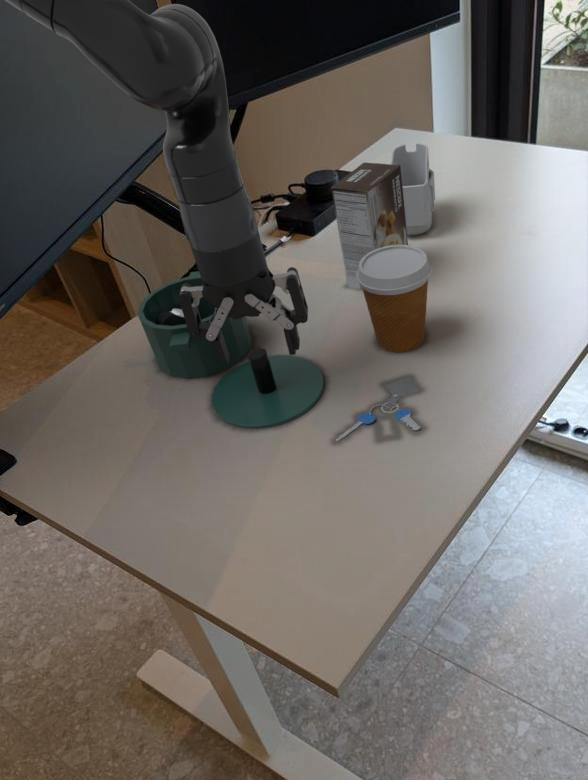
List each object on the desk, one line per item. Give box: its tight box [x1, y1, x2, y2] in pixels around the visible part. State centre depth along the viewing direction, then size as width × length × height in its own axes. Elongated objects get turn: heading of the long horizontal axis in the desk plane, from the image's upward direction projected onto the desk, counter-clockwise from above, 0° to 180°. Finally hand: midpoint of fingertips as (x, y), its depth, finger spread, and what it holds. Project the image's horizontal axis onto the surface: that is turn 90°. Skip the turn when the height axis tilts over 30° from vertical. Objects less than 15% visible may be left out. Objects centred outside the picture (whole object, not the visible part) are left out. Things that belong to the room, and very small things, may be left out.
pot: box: [136, 270, 253, 380], centre depth 95 cm, size 14×19×8 cm
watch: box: [156, 308, 184, 325], centre depth 98 cm, size 8×5×4 cm
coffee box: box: [330, 162, 409, 291], centre depth 100 cm, size 9×6×16 cm
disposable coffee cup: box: [356, 244, 432, 353], centre depth 89 cm, size 10×10×12 cm
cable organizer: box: [390, 142, 436, 236], centre depth 113 cm, size 7×12×12 cm, turn 175°
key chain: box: [335, 377, 421, 442], centre depth 82 cm, size 14×8×1 cm, turn 147°
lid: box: [211, 347, 325, 430], centre depth 86 cm, size 15×15×7 cm
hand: (259, 356), depth 85 cm, fingers open, 8 cm apart
